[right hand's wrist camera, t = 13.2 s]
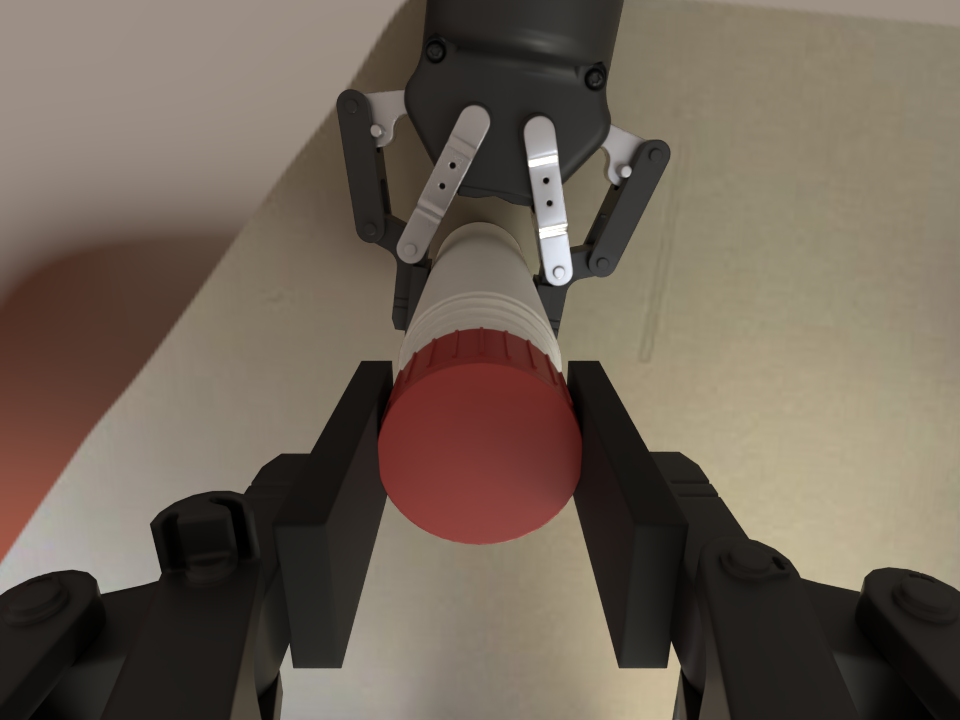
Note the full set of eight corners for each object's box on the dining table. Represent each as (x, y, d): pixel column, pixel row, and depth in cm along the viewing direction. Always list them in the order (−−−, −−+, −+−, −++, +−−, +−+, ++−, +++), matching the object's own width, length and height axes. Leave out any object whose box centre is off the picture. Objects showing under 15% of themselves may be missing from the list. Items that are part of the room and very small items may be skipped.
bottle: (423, 238, 32) (333, 386, 12) (508, 209, 31) (555, 314, 12) (453, 319, 33) (416, 564, 14) (534, 292, 33) (614, 508, 13)
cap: (360, 364, 14) (337, 405, 12) (534, 298, 13) (545, 327, 11) (432, 509, 16) (424, 571, 13) (592, 455, 15) (613, 510, 13)
